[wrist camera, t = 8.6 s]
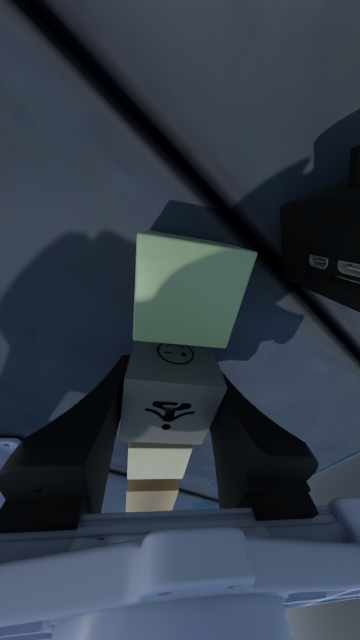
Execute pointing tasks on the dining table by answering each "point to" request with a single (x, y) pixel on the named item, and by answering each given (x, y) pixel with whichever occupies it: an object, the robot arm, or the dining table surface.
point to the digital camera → (326, 239)
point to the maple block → (151, 495)
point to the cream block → (157, 460)
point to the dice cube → (170, 393)
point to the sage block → (188, 289)
